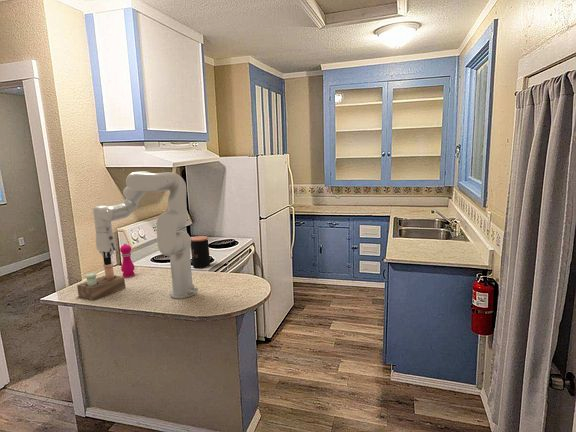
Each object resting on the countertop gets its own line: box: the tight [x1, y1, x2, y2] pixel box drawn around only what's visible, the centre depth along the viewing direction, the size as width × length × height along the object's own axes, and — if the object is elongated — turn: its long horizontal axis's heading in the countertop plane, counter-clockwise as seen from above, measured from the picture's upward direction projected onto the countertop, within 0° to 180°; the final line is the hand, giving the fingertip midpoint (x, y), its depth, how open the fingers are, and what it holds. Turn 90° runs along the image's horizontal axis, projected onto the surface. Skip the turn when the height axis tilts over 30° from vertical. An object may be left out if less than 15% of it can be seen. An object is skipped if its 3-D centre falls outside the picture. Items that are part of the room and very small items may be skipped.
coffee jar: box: [190, 235, 211, 269], centre depth 226 cm, size 11×11×18 cm
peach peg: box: [102, 262, 114, 280], centre depth 192 cm, size 5×5×10 cm
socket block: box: [76, 275, 126, 301], centre depth 189 cm, size 12×18×6 cm, turn 152°
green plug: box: [84, 272, 97, 286], centre depth 184 cm, size 5×5×10 cm
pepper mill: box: [119, 241, 136, 278], centre depth 213 cm, size 7×7×20 cm
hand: (107, 264), depth 191 cm, fingers closed
